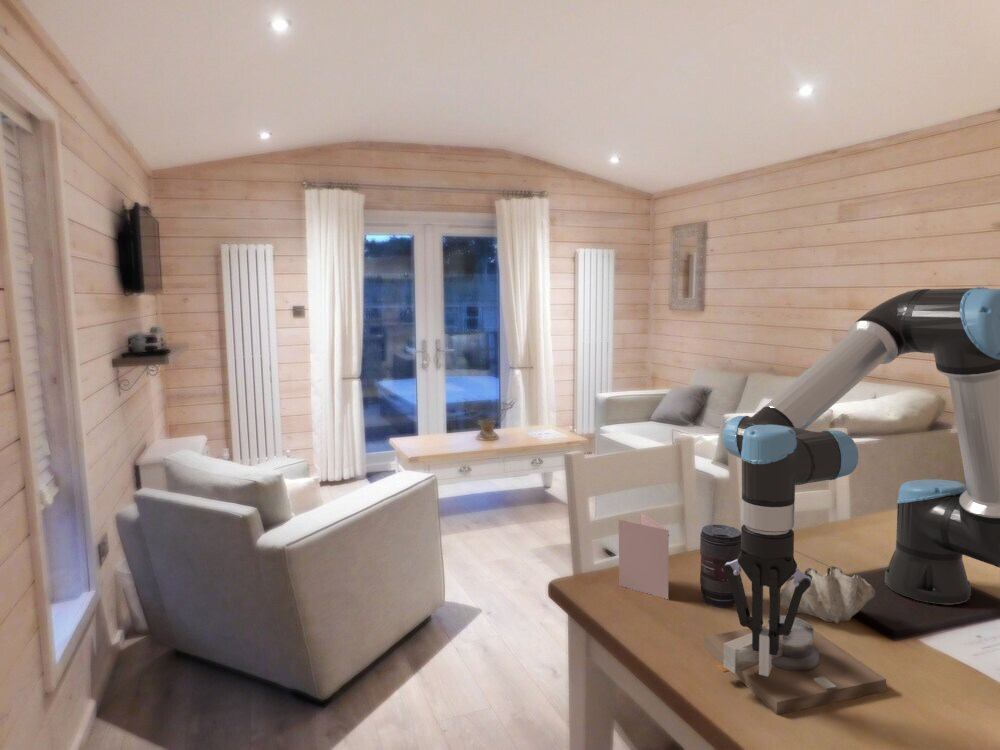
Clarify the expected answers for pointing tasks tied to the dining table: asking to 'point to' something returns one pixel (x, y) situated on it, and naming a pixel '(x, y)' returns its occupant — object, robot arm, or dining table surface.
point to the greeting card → (644, 556)
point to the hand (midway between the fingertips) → (765, 670)
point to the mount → (804, 675)
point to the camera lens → (718, 563)
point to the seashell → (830, 595)
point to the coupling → (793, 645)
